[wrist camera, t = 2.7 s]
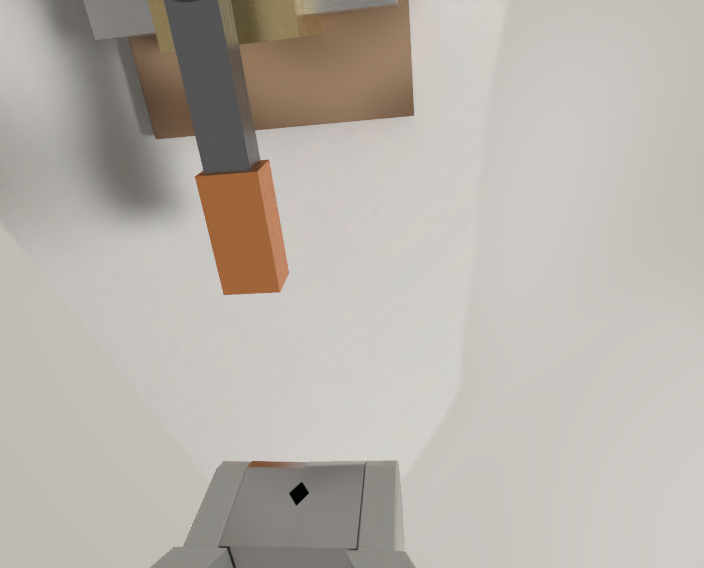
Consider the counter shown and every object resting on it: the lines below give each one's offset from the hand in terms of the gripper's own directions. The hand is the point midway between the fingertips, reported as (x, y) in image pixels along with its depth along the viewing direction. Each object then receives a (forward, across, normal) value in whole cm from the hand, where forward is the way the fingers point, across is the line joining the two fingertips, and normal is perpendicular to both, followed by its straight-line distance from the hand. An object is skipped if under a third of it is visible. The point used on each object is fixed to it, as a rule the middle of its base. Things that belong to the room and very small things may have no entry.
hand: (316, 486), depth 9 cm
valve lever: (+14, +5, -4) cm, 15 cm away
